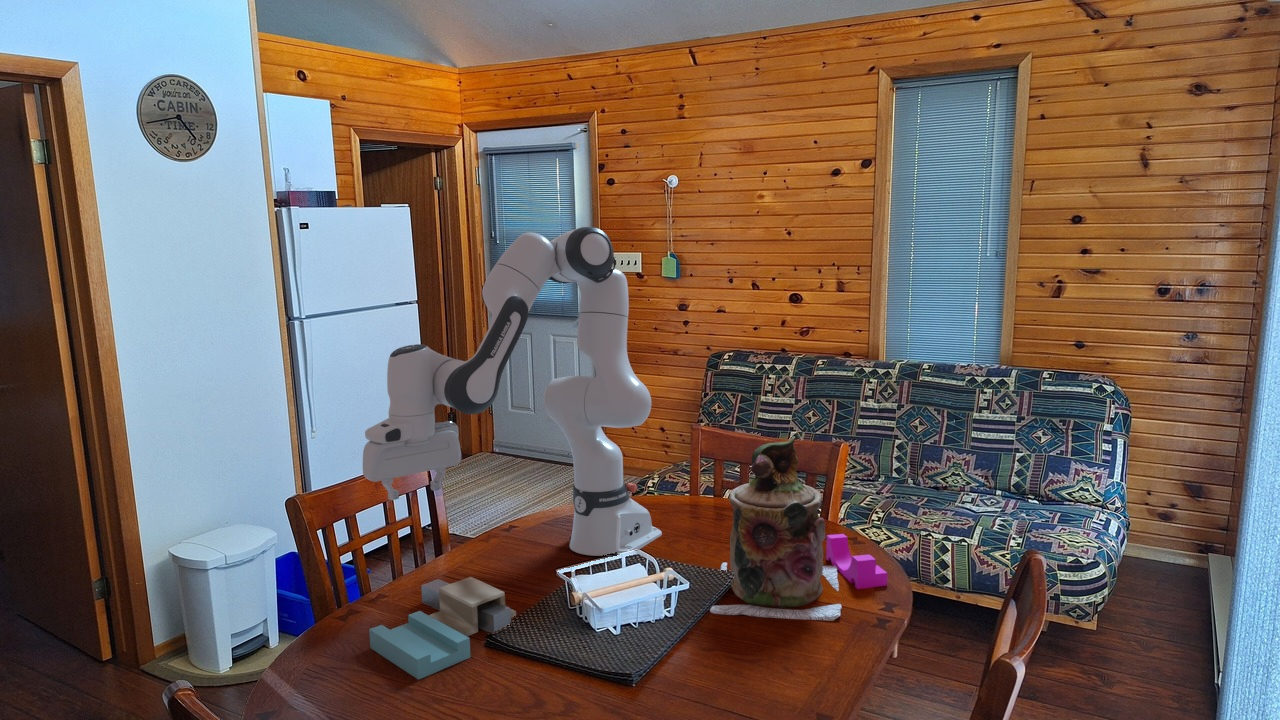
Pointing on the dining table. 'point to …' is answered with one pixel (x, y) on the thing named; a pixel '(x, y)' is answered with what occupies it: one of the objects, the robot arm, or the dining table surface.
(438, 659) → the teal grooved block
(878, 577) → the toy block
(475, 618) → the bracket
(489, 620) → the gray rectangular bar
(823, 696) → the dining table surface
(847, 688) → the dining table surface
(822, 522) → the cookie jar
